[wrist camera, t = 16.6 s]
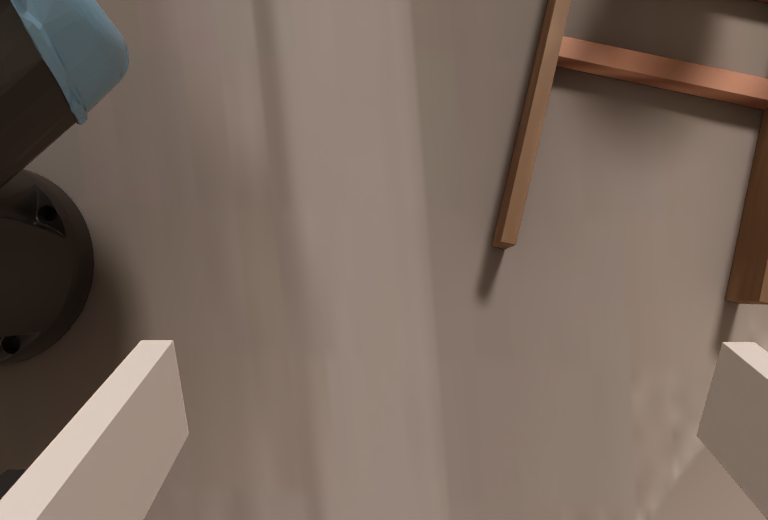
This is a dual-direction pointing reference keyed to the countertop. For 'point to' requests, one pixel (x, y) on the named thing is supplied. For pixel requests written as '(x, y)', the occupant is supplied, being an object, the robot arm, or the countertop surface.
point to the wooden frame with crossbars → (764, 196)
